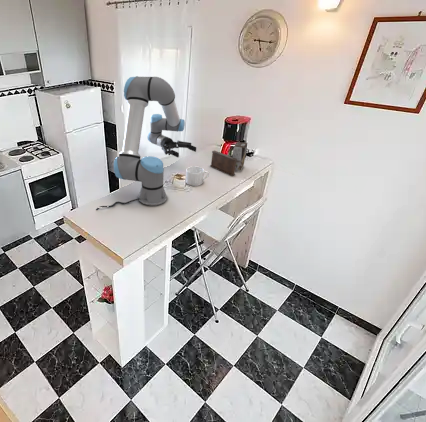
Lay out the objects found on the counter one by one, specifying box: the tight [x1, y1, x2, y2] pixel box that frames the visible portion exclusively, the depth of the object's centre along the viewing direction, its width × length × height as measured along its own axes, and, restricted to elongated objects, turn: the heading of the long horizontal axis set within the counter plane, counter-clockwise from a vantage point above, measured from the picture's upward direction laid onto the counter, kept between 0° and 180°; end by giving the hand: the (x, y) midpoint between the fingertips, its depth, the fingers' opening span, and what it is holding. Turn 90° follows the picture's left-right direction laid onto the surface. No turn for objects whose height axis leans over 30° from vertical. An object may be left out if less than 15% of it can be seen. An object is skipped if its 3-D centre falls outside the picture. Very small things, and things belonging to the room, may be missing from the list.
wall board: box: [209, 149, 237, 177], centre depth 183 cm, size 18×3×11 cm, turn 32°
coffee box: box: [231, 141, 248, 173], centre depth 183 cm, size 9×6×16 cm
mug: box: [185, 165, 210, 187], centre depth 172 cm, size 13×10×8 cm
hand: (187, 152), depth 173 cm, fingers open, 13 cm apart
